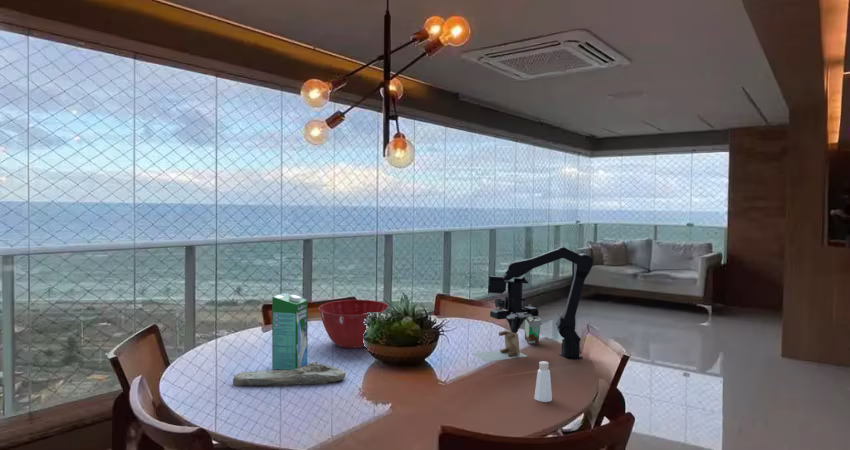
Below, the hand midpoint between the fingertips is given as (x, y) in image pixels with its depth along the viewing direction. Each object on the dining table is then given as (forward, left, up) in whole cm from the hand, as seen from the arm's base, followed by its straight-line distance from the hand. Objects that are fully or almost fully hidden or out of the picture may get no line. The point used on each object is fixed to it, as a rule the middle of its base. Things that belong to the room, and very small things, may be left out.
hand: (514, 335), depth 204 cm
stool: (0, +2, -7) cm, 7 cm away
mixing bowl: (+37, +52, -8) cm, 64 cm away
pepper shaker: (-42, +18, -8) cm, 46 cm away
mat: (0, +6, -8) cm, 10 cm away
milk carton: (+18, +81, -8) cm, 83 cm away
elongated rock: (+2, +84, -8) cm, 84 cm away
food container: (+12, -18, -8) cm, 23 cm away
